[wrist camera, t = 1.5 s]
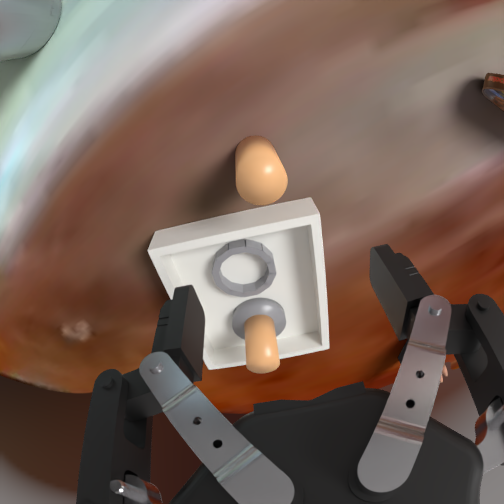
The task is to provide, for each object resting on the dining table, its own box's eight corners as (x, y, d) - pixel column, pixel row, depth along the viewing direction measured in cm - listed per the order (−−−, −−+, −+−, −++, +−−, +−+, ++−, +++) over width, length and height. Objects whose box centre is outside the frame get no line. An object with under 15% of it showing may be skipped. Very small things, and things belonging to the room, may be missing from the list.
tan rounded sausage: (240, 176, 31) (242, 209, 24) (231, 140, 29) (230, 163, 22) (277, 168, 31) (291, 199, 24) (270, 131, 29) (282, 152, 22)
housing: (209, 349, 46) (207, 397, 39) (155, 231, 34) (135, 280, 27) (323, 328, 45) (337, 376, 38) (310, 197, 33) (333, 240, 25)
